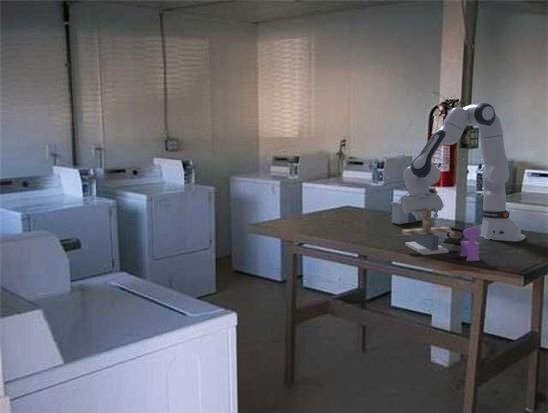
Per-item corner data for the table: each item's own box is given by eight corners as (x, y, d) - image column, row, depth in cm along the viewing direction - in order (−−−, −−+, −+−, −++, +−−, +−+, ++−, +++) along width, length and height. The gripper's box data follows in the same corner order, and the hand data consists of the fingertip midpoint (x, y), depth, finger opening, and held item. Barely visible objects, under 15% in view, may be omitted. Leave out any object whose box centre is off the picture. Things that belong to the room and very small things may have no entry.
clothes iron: (448, 240, 318) (454, 223, 315) (468, 249, 310) (474, 231, 308) (441, 242, 313) (447, 223, 310) (461, 250, 305) (467, 231, 303)
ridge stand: (405, 245, 308) (405, 229, 307) (429, 243, 311) (429, 228, 310) (423, 254, 289) (423, 238, 288) (448, 252, 292) (448, 236, 290)
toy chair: (475, 255, 285) (476, 224, 283) (482, 260, 277) (483, 227, 274) (457, 256, 285) (458, 224, 283) (464, 261, 276) (465, 228, 274)
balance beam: (447, 230, 303) (447, 206, 301) (451, 232, 299) (451, 207, 297) (401, 233, 298) (402, 209, 296) (405, 235, 294) (405, 210, 292)
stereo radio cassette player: (399, 225, 357) (400, 191, 354) (389, 223, 364) (390, 190, 360) (425, 221, 368) (425, 188, 365) (414, 219, 375) (415, 186, 372)
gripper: (401, 192, 300) (409, 215, 292) (439, 190, 304) (448, 212, 296) (397, 200, 305) (405, 223, 297) (435, 197, 309) (444, 220, 301)
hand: (427, 217), depth 297 cm, fingers open, 8 cm apart
